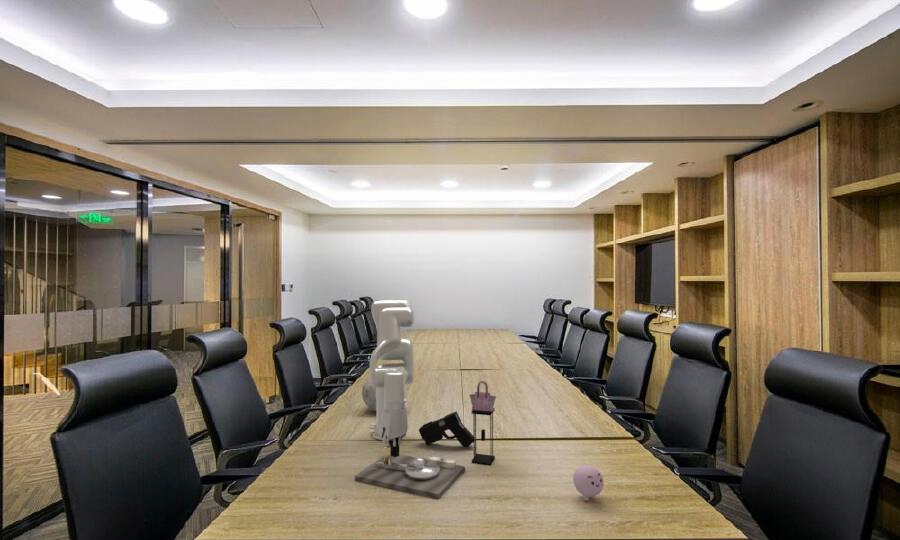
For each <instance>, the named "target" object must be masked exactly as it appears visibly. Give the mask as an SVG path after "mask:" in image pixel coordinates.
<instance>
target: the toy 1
mask: <svg viewBox="0 0 900 540" xmlns="http://www.w3.org/2000/svg"><path fill="white" fill-rule="evenodd" d="M446 431H450V432H451V433H452V434H453V435H452V436H451V435H448V434H447V433H446ZM418 432H419V434H420V435H419V436H420V437H421V439H422V441H424V443H425V445H426V446H430V445H432V444H434V443H436V442H438V441H441V440H443V438H445V439H446V440H453V439H456V440H457V441H458V442H459V444H460V445H461V446H462V447H463V448H464V449H468V448H469V446H471V445H472V444H474V434H472V433H471V432H470V430H469V429H468V428H467V427H466V426H465V424H463V422H462V420H461V417H460V416H459V414H458V411H453V412H452V413H448V414H447V415H444V416H443V417H442V418H439V419H437V420H433V421H429V422H427V423H424V424H423V425H422V426H420V428H419V429H418Z"/></svg>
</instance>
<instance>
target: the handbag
mask: <svg viewBox="0 0 900 540" xmlns="http://www.w3.org/2000/svg"><path fill="white" fill-rule="evenodd" d="M481 384H483V385H484V387H485V392H484V391H480V385H481ZM488 387H489V386H488V382H486V381H484V380H481V381H479V382H478V383H477V385H476V388H477V389H476V391H474V393H473V394H472V393H471V394H469V399H470V403H471V411H470V412H471V413H470V414H472V415H473V420H472V421H473V425H472V426H473V436H474V442H473V458H472V459H471V464H476V465H481V466H492V464H493V462H494V461H495V459H496V456H495V455H494V415H493V414H494V412H495V407H494V406H495V401H496V399H497V396H495V395H491V392H489V388H488ZM477 415H480V416H481V415H482V416H489V417H490V419H489V421H490V426H489V427H490V428H489V430H490V432H489V433H490V442H489V443H490V445H491V448H490V455H489V454H482V453H477ZM480 435H481V436H480V437H481V439H480V440H481V441H482V442H485V441H486V429H481V431H480Z"/></svg>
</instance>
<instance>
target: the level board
mask: <svg viewBox="0 0 900 540" xmlns="http://www.w3.org/2000/svg"><path fill="white" fill-rule="evenodd" d="M414 457H415V456H411V455H405V454H400V453H399V456H397V457H393V456H391V463H398V464H406V465H408V464H410V463H412V462H413V458H414ZM424 461H432V462H435V463H437V464H438V465H439V466H440V473H439V475H438V476H437V477H435V478H432V479H428V480H414V479H411V478H409V477H407V476H406V474H405V471H403V470H395V469H388V468H386V467H383V466H378V462H382V463H384V455H383V456H382V457H380V458H379V459H378V460H376V461H374V462H373V463H372V464H369V465H368V466H367V467H365V468H364V469H363V470H361V471H360V472H358V473H357V474H355V475H354V481H357V482H362V483H366V484H369V485H374V486H379V487H384V488H389V489H393V490H396V491H401V492H404V493H405V492H406V493H410V494H415V495H419V496H424V497H429V498H432V499H437V500H439V499H440V498H441V497H442V496H443V495H444V494H445V493H446V491H447V490H448V489H450V487H451V486H452V485H453V484H454V483H455V482H456V481H457V480H458V479H459V478H460V476H461V475H463V474H464V472H465V471H466V466H464V465H459V464H457V461H456V460H453V459H447V458H442V457H437V456H436V457H435V456H430V457H428V459H426V458H424Z"/></svg>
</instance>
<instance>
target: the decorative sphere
mask: <svg viewBox="0 0 900 540" xmlns="http://www.w3.org/2000/svg"><path fill="white" fill-rule="evenodd" d="M361 389H362V390H361V397H362V400H363V402H364V404H365V405H366V406H367V407H368V409H370V410H372V411H374V412H376V387H373V386H372V385H371V382H370V376H369V377H368V378H367V379H366V380H365V382H364V384H363V385H362V388H361Z"/></svg>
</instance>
